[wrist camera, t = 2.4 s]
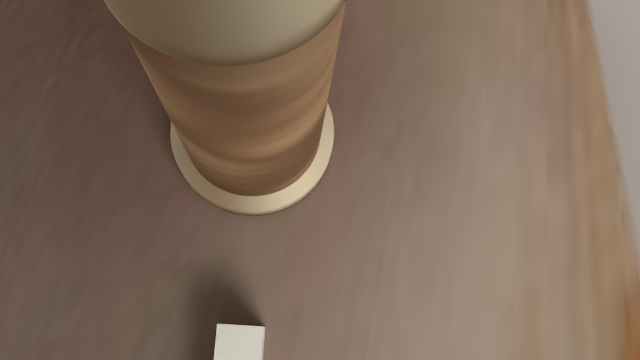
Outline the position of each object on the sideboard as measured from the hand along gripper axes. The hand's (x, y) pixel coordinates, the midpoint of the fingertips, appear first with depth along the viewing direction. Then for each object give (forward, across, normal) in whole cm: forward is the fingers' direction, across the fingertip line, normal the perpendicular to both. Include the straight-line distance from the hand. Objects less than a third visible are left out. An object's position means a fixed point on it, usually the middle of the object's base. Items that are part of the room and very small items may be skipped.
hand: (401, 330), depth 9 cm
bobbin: (+15, 0, +4) cm, 16 cm away
